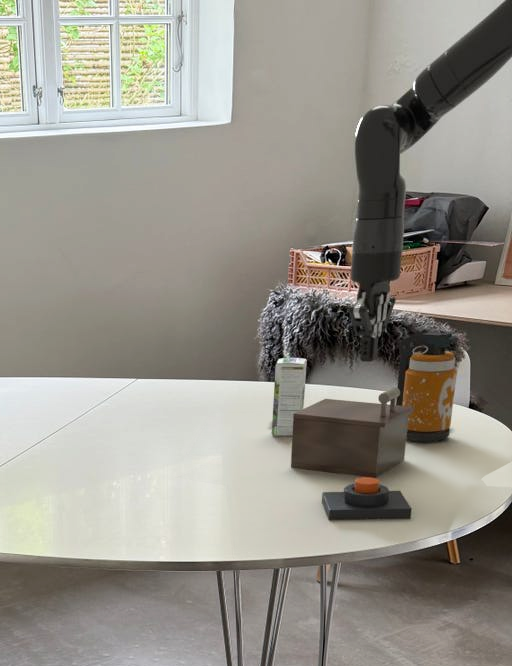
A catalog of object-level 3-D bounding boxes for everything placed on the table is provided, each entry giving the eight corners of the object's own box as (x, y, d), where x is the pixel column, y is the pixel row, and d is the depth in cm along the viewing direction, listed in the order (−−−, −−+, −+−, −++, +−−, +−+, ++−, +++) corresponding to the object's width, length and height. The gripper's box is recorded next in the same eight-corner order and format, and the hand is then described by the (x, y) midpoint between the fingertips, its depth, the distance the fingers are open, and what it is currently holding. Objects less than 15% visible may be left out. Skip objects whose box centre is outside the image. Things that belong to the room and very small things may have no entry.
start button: (376, 487, 149) (377, 476, 148) (380, 494, 146) (381, 483, 145) (352, 488, 150) (353, 477, 149) (355, 495, 147) (356, 484, 146)
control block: (399, 500, 152) (401, 479, 151) (410, 519, 144) (412, 497, 143) (321, 502, 154) (323, 481, 153) (328, 520, 146) (330, 498, 145)
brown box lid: (413, 411, 167) (416, 383, 165) (384, 427, 159) (387, 398, 157) (325, 402, 177) (326, 376, 175) (293, 418, 169) (294, 390, 167)
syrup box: (273, 429, 197) (276, 357, 191) (303, 429, 196) (307, 357, 189) (271, 436, 193) (274, 363, 186) (301, 436, 191) (305, 362, 184)
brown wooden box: (404, 460, 172) (409, 410, 168) (375, 478, 163) (380, 427, 159) (321, 449, 181) (325, 403, 177) (290, 467, 173) (293, 418, 169)
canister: (434, 446, 178) (447, 336, 169) (380, 438, 185) (389, 332, 177) (457, 436, 183) (470, 328, 174) (403, 428, 191) (413, 325, 182)
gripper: (382, 252, 144) (373, 369, 151) (417, 244, 152) (406, 354, 160) (336, 253, 148) (328, 366, 156) (372, 245, 157) (363, 352, 165)
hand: (368, 360), depth 158 cm, fingers closed
